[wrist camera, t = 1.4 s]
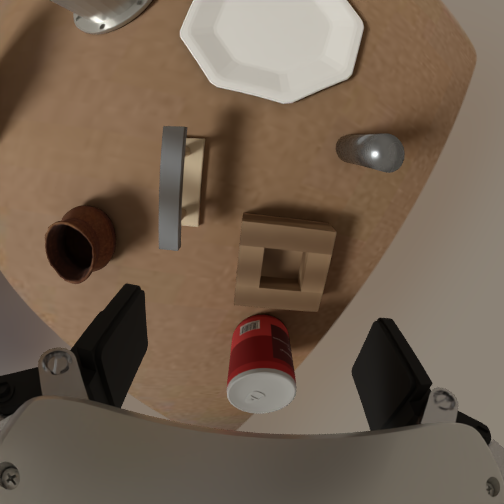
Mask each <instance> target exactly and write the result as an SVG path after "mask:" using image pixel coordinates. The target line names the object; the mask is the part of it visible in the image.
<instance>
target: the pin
mask: <svg viewBox="0 0 504 504" xmlns="http://www.w3.org/2000/svg"><path fill="white" fill-rule="evenodd" d="M336 152H337V155H338V157H339V158H340V159H341V160H343V161H344V162H347V163H352V164H356V165H360V166H364V167H368V168H372V169H376V170H379V171H383V172H389V173H390V172H394V171H396V170H398V169H399V168H400V167H401V165H402V163H403V161H404V148H403V145H402V143H401V142H400V140H399V139H398V138H397V137H395V136H394V135H391V134H360V135H346V136H343V137H341V138H340V139H339V140H338V142H337V144H336Z"/></svg>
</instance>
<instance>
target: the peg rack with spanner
mask: <svg viewBox="0 0 504 504" xmlns="http://www.w3.org/2000/svg"><path fill="white" fill-rule="evenodd" d="M186 136H187V127H175V126H163V136H162V149H161V165H160V187H159V249H165V250H174V251H178V250H179V248H180V247H181V225H183V226H194V227H198V226H199V215H200V198H201V183H202V170H203V158H204V146H205V139H198V138H186Z"/></svg>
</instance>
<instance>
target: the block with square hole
mask: <svg viewBox="0 0 504 504" xmlns="http://www.w3.org/2000/svg"><path fill="white" fill-rule="evenodd" d="M336 233H337V232H336V231H335V230H334V229H333V227H332V226H331V225H330V224H329V223H325V222H317V221H309V220H301V219H293V218H285V217H276V216H268V215H259V214H249V213H243V218H242V225H241V235H240V246H239V256H238V266H237V277H236V288H235V298H234V305H240V306H250V307H260V308H272V309H284V310H297V311H312V312H318V309H319V306H320V302H321V298H322V294H323V290H324V286H325V282H326V278H327V274H328V269H329V265H330V261H331V256H332V252H333V247H334V243H335V238H336Z"/></svg>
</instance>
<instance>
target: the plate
mask: <svg viewBox="0 0 504 504" xmlns="http://www.w3.org/2000/svg"><path fill="white" fill-rule="evenodd" d="M363 30H364V25H363V21H362V20H361V18H360V17H359V16H358V14H357V13H356V12H355V10H354V9H353V8H352V6H351V5H350V4H349V2H348V1H347V0H193V2H192V4H191V6H190V9H189V11H188V13H187V15H186V18H185V20H184V23H183V25H182V27H181V30H180V37H181V39H182V40H183V42H184V43H185V45H186V46H187V48H188V49H189V51H190V52H191V54H192V55H193V57H194V58H195V60H196V61H197V63H198V64H199V66H200V67H201V69H202V70H203V72H204V73H205V75H206V76H207V78H208V80H209V81H210V83H212V84H213V85H215V86H216V87H218V88H223V89H228V90H232V91H237V92H241V93H245V94H249V95H253V96H257V97H261V98H265V99H268V100H272V101H276V102H279V103H282V104H286V103H293V102H295V101H297V100H300V99H302V98H304V97H306V96H308V95H311V94H313V93H315V92H318V91H320V90H322V89H325V88H327V87H329V86H332V85H334V84H337V83H339V82H342V81H344V80H347V79H348V78H349V77H350V76H351V75H352V73H353V70H354V66H355V62H356V58H357V54H358V50H359V46H360V42H361V38H362V34H363Z"/></svg>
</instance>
